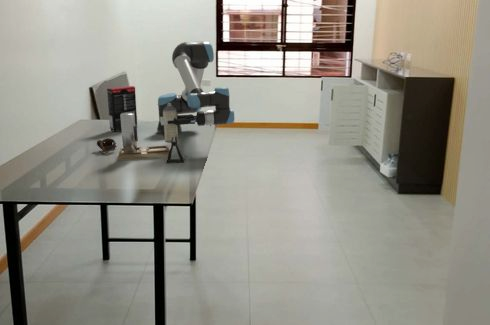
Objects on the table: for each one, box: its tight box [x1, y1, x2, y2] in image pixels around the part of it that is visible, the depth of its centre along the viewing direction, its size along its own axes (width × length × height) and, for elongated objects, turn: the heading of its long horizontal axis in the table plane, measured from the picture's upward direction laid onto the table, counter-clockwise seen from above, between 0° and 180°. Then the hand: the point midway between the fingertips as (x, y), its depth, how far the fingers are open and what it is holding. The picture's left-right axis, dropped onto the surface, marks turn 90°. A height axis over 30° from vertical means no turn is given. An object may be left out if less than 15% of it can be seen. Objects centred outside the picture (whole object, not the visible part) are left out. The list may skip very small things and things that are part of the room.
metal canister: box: [120, 113, 139, 153], centre depth 268 cm, size 7×8×20 cm
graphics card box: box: [106, 85, 138, 132], centre depth 334 cm, size 17×7×27 cm, turn 133°
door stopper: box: [165, 137, 186, 164], centre depth 259 cm, size 9×6×12 cm, turn 93°
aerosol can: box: [163, 103, 179, 144], centre depth 271 cm, size 7×7×20 cm
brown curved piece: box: [96, 137, 118, 153], centre depth 283 cm, size 12×10×8 cm
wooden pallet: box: [117, 144, 170, 161], centre depth 272 cm, size 11×26×4 cm, turn 101°
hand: (160, 121), depth 270 cm, fingers closed on aerosol can, 7 cm apart
